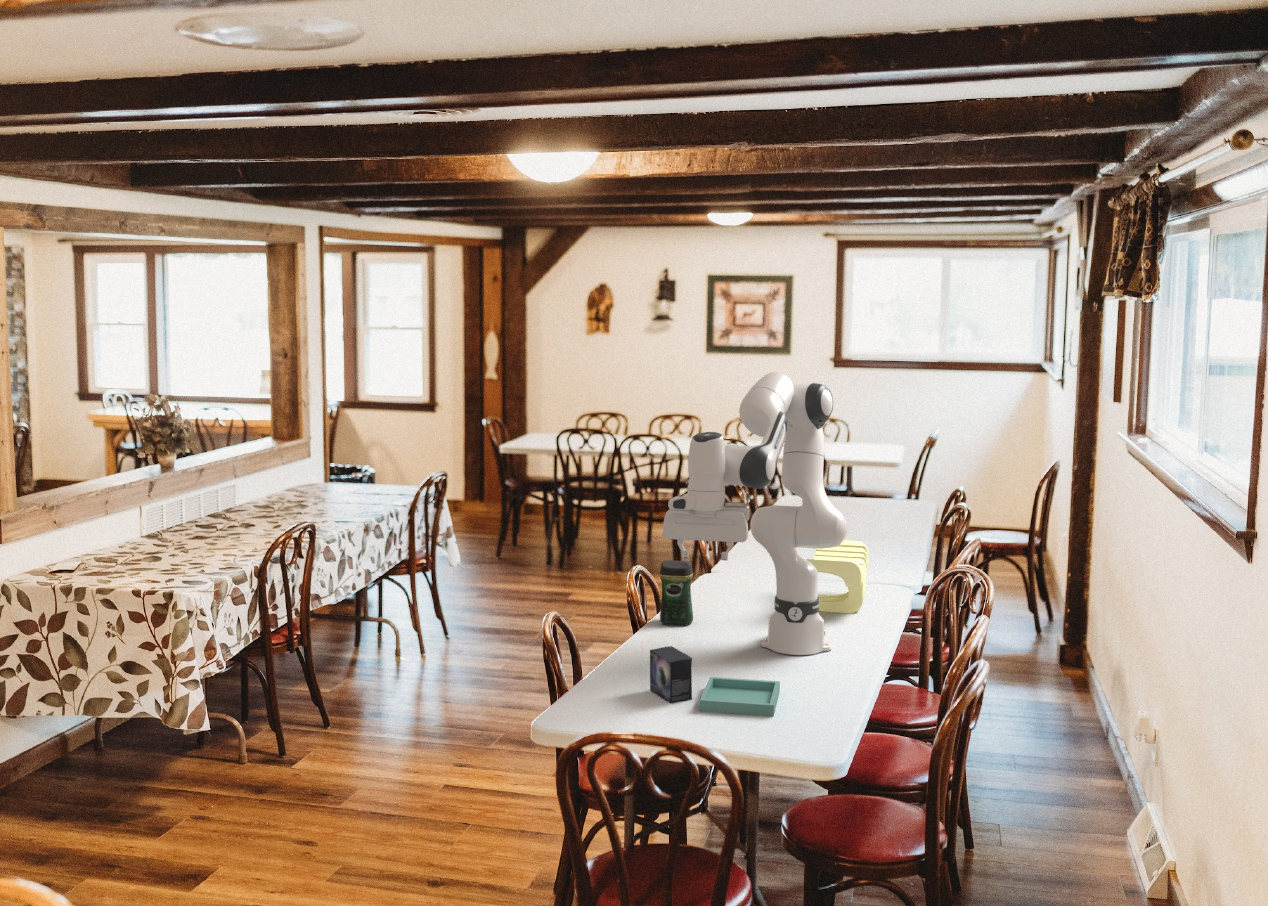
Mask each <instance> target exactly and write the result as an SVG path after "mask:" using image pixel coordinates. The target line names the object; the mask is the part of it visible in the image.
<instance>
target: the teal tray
mask: <svg viewBox="0 0 1268 906" xmlns="http://www.w3.org/2000/svg"><path fill="white" fill-rule="evenodd" d="M780 683H781V681H778V680H776V681H775V680H764V679H763V680H762V679H760V680H759V679H748V678H747V679H746V678H745V679H744V678H734V677H733V678H732V677H717V676H710V677H709V678H708V681H707V682H706V685H705V687H704V689H703V691H702V694H701V697H700V698H699V712H706V713H707V712H710V713H721V714H722V713H723V714H734V715H736V714H737V715H748V716H749V715H750V716H764V717H774V716H775V712H776V708H777V705H778V704H777V703H778V701H779V696H780V692H781V689H780V688H781V687H780V686H781V684H780Z"/></svg>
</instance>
